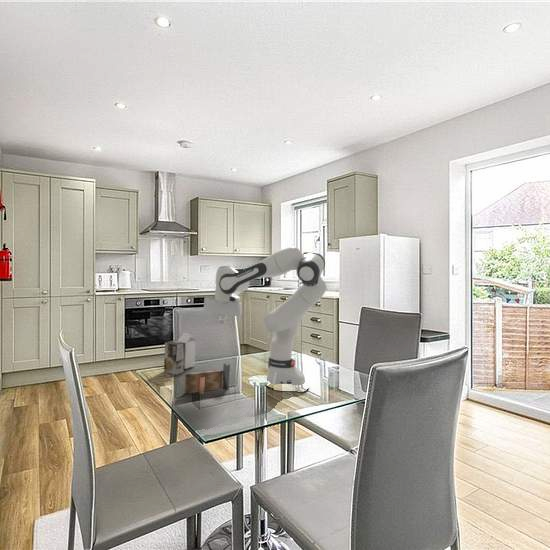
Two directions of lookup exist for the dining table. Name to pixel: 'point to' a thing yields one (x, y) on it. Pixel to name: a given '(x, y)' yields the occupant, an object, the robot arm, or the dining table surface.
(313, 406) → the dining table surface
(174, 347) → the coffee box
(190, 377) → the gate
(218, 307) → the robot arm
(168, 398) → the dining table surface
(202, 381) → the catch post
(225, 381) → the gate post
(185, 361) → the milk carton
